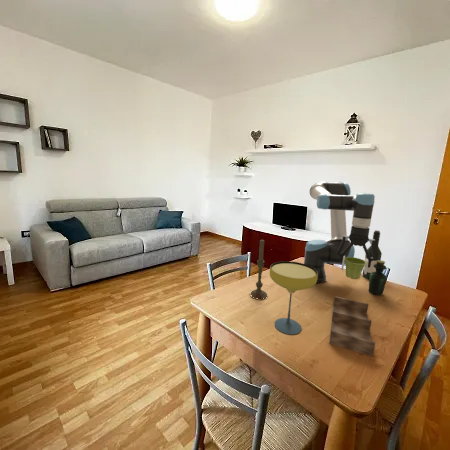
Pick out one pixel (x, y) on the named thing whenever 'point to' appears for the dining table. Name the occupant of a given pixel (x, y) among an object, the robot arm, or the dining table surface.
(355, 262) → the plant pot
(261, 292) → the candlestick holder
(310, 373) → the dining table surface
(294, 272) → the cocktail glass
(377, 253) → the wine bottle
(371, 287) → the potion bottle
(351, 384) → the dining table surface
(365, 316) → the rack
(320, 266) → the robot arm
